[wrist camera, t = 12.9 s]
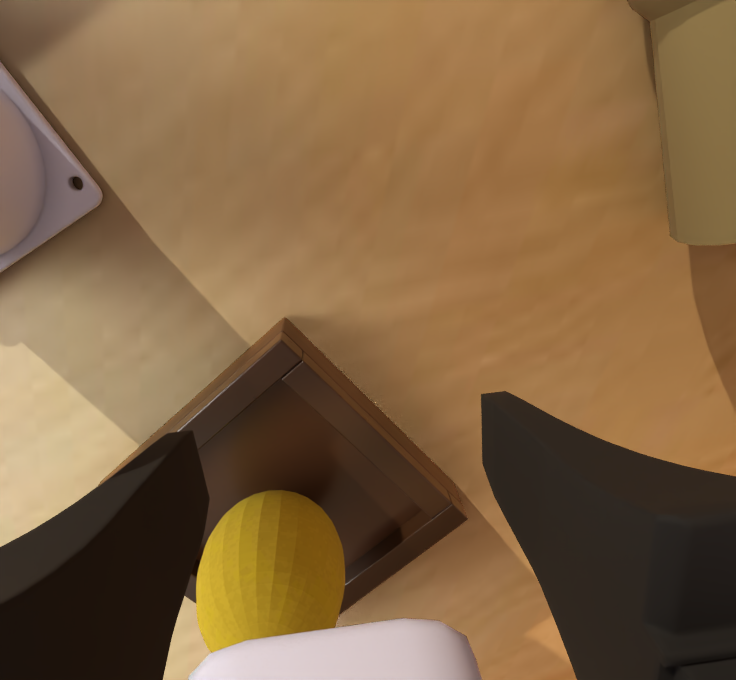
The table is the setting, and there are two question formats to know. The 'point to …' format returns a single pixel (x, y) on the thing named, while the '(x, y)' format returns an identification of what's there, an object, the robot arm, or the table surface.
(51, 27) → the table surface
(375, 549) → the tray
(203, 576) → the lemon
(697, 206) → the cork
